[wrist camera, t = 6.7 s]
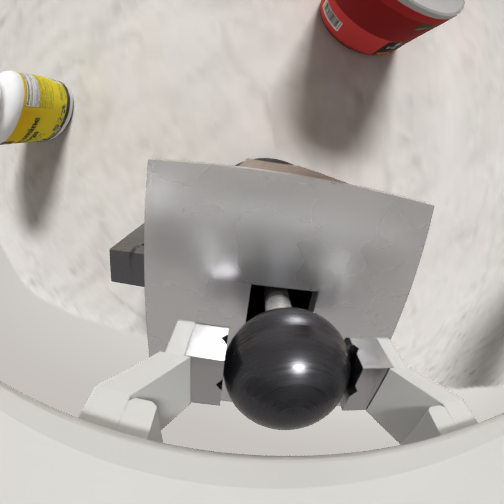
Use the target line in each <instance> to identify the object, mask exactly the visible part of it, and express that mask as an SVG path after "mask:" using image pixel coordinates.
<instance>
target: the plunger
mask: <svg viewBox="0 0 504 504" xmlns="http://www.w3.org/2000/svg"><path fill="white" fill-rule="evenodd" d="M264 297H265V312H263V313H260V314H258V315H257V316H255V317H253V318H252V319H250V320H249V321H248V322H246V323H245V324H244V325H243V326H242V327H241V328H240V329H239V330H238V331H237V333H236V334H235V335H234V336H233V338H232V340H231V342H230V344H229V346H228V348H227V351H226V356H225V365H224V373H223V376H224V381H225V386H226V389H227V392H228V394H229V397H230V398H231V400H232V401H233V403H234V404H235V406H236V407H237V408H238V409H239V411H240V412H242V413H243V414H244V415H245V416H246V417H247V418H249V419H251V420H252V421H254V422H255V423H257V424H259V425H262V426H265V427H268V428H272V429H278V430H292V429H298V428H303V427H306V426H309V425H312V424H314V423H316V422H318V421H319V420H321V419H323V418H324V417H325V416H327V415H328V414H329V413H330V412H331V411H332V410H333V409H334V408H335V407H336V406H337V405H338V403H339V402H340V400H341V399H342V397H343V395H344V393H345V391H346V389H347V386H348V383H349V378H350V371H351V363H350V356H349V351H348V348H347V346H346V343H345V341H344V339H343V337H342V336H341V334H340V333H339V331H338V330H337V329H336V328H335V327H334V326H333V325H332V324H331V323H330V322H329V321H328V320H326V319H325V318H323V317H322V316H320V315H318V314H316V313H314V312H312V311H309V310H305V309H301V308H295V307H291V302H290V298H289V294H288V289H287V288H280V287H271V286H264Z"/></svg>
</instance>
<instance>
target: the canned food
mask: <svg viewBox="0 0 504 504" xmlns="http://www.w3.org/2000/svg"><path fill="white" fill-rule="evenodd" d="M464 3H465V2H464V0H321V4H320V9H321V15H322V19H323V22H324V24H325V26H326V28H327V29H328V30H329V32H330V33H331V34H332V35H333V36H334V37H335V38H336V39H337V40H338V41H339V42H341V43H342V44H343V45H345V46H346V47H348V48H350V49H352V50H354V51H357V52H359V53H363V54H368V55H384V54H388V53H391V52H392V51H394V50H396V49H397V48H399V47H401V46H402V45H404V44H406V43H408V42H409V41H411V40H413V39H415V38H416V37H418V36H420V35H422V34H424V33H426V32H427V31H429V30H431V29H433V28H435V27H437V26H439V25H441V24H443V23H444V22H446V21H448V20H449V19H451V18H453V17H455V16H456V15H457V14H459V13H460V12H461V11H462V10H463V7H464Z"/></svg>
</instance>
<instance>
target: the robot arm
mask: <svg viewBox="0 0 504 504" xmlns="http://www.w3.org/2000/svg"><path fill="white" fill-rule="evenodd" d="M228 331H229V327H224V326H218V325H211V324H205V323H199V322H193V321H187V320H178V321H177V323H176V326H175V328H174V331H173V333H172V336H171V338H170V341H169V343H168V346H167V348H166V351H165V352H161V351H160V352H158V353H156V354H154V355H152V356H151V357H149V358H147V359H145V360H143V361H141V362H140V363H138V364H136V365H134V366H132V367H130V368H128V369H126V370H124V371H123V372H121V373H119V374H117V375H115V376H113V377H111V378H109V379H107V380H105V381H103V382H101V383H99V384H97V385H96V386H95V388H94V390H93V392H92V393H91V396H90V397H89V399H88V401H87V403H86V405H85V406H84V408H83V410H82V412H81V414H80V416H79V417H78V418H77V417H74V416H72V415H69V414H67V413H64V412H62V411H59V410H57V409H55V408H52V407H50V406H48V405H46V404H44V403H42V402H39V401H37V400H35V399H33V398H31V397H29V396H27V395H25V394H23V393H22V392H19V391H18V390H16V389H14V388H12V387H10V386H9V385H7V384H5V383H3V382H2V381H0V504H504V413H502V414H500V415H498V416H495V417H493V418H490V419H488V420H485V421H483V422H480V423H478V422H477V421H476V419H475V417H474V416H473V414H472V413H471V411H470V409H469V408H468V406H467V405H466V403H465V402H464V400H463V399H462V398H460V397H459V396H457V395H455V394H454V393H452V392H450V391H449V390H447V389H446V388H444V387H442V386H441V385H439V384H437V383H436V382H434V381H433V380H431V379H429V378H428V377H426V376H424V375H423V374H421V373H420V372H418V371H416V370H415V369H413V368H412V367H407V366H406V364H405V363H404V361H403V359H402V358H401V356H400V355H399V353H398V351H397V350H396V348H395V346H394V345H393V343H392V342H391V340H390V339H389V338H387V337H376V338H350V337H346V338H345V339H344V341H345V343H346V346H347V348H348V351H349V356H350V363H351V371H350V378H349V383H348V386H347V389H346V391H345V393H344V395H343V397H342V399H341V400H340V404H341V408H342V410H366V411H367V412H368V413H369V414H370V415H371V416H372V417H373V418H374V419H375V420H376V421H377V422H378V423H379V424H380V425H381V426H382V427H383V428H384V429H385V430H386V431H387V432H388V433H389V434H390V435H392V436H393V438H395V439H396V440H397V441H398V442H399V443H400V444H401V445H399V446H394V447H388V448H382V449H376V450H369V451H362V452H354V453H344V454H332V455H316V456H261V455H260V456H259V455H244V454H232V453H222V452H214V451H205V450H199V449H193V448H186V447H180V446H175V445H170V444H165V443H163V440H162V435H161V430H162V429H163V428H164V427H165V426H166V425H167V424H169V423H170V422H171V421H172V420H173V419H174V418H175V417H176V416H177V415H179V413H181V412H182V411H183V410H184V409H185V408H186V407H187V406H188V405H189V404H190V403H191V402H195V403H202V404H211V405H220V400H221V392H222V383H223V373H224V365H225V356H226V349H227V340H228Z"/></svg>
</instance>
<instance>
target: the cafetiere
mask: <svg viewBox="0 0 504 504" xmlns="http://www.w3.org/2000/svg"><path fill="white" fill-rule="evenodd" d="M433 210H434V206H433V205H430V204H428V203H425V202H423V201H419V200H415V199H411V198H407V197H403V196H399V195H395V194H391V193H387V192H383V191H379V190H374V189H370V188H365V187H361V186H356V185H351V184H348V183H345V182H343V181H340V180H337V179H335V178H332V177H329V176H326V175H324V174H321V173H318V172H315V171H312V170H309V169H306V168H303V167H301V166H295V165H292V164H290V163H287V162H285V161H282V160H277V159H270V158H258V159H247V160H245V161H244V162H241V163H239V164H237V165H235V166H233V165H224V164H215V163H205V162H194V161H181V160H167V159H150V160H148V167H147V180H146V197H145V223H144V224H142V225H141V226H140V227H138V228H137V229H136V230H134V231H133V232H132V233H130V234H129V235H128V236H126V237H125V238H124V239H122V240H121V241H120V242H118V243H117V244H116V245H115V246H113V247H112V248H111V249H110V267H111V280H112V281H114V282H119V283H125V284H130V285H136V286H142V287H145V305H146V322H147V335H148V347H149V357H151V356H152V355H154V354H156V353H158V352H160V351H161V352H165V351H166V348H167V346H168V343H169V341H170V338H171V336H172V333H173V331H174V328H175V326H176V323H177V321H178V320H187V321H193V322H199V323H205V324H211V325H218V326H224V327H229V331H228V340H227V348H228V346H229V344H230V342H231V340H232V338H233V336H234V335H235V334H236V333H237V331H238V330H239V329H240V328H241V327H242V326H243V325H244V324H245V323H246V322H248V321H249V320H250V319H252V318H253V317H255V316H257V315H258V314H260V313H263V312H265V297H264V286H271V287H280V288H287V289H288V294H289V298H290V302H291V307H295V308H301V309H305V310H309V311H312V312H314V313H316V314H318V315H320V316H322V317H323V318H325V319H326V320H328V321H329V322H330V323H331V324H332V325H333V326H334V327H335V328H336V329H337V330H338V331H339V333H340V334H341V336H342V337H343V339H345V338H346V337H350V338H376V337H387V338H389V339H390V340H391V337H392V335H393V333H394V330H395V328H396V326H397V323H398V321H399V318H400V316H401V313H402V311H403V308H404V305H405V303H406V300H407V297H408V295H409V292H410V289H411V286H412V283H413V280H414V277H415V274H416V271H417V268H418V265H419V262H420V259H421V255H422V252H423V248H424V245H425V241H426V238H427V234H428V230H429V226H430V222H431V218H432V214H433ZM226 351H227V349H226ZM221 400H223V401H231V402H233V401H232V400H231V398H230V397H229V394H228V392H227V389H226V386H225V381H224V376H223V383H222V392H221ZM337 406H341V404H340V402H339V403H338V405H337Z"/></svg>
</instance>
